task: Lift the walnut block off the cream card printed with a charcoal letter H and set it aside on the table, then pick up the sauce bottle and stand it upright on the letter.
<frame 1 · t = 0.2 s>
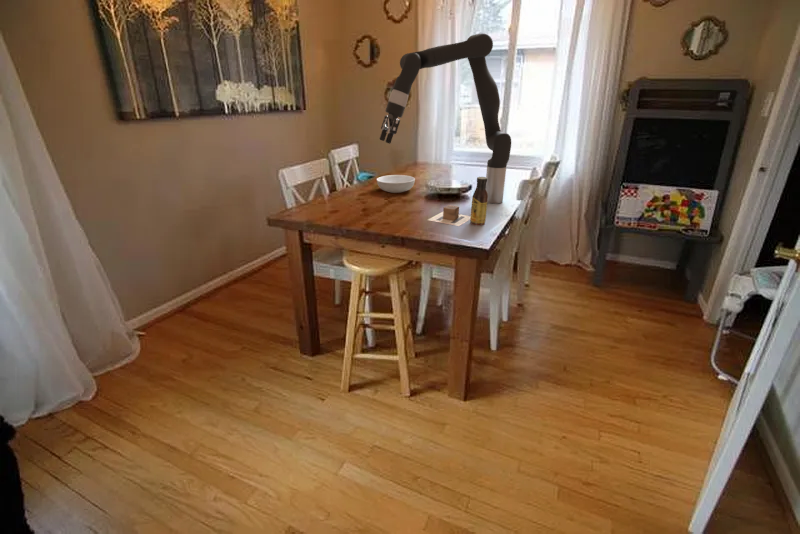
hand: (384, 141, 172), 31 cm above the table, tool tilted 20°, fingers open, 8 cm apart
serving bowl: (395, 191, 220), on the table
sauce bottle: (477, 225, 167), on the table
walnut block: (450, 218, 173), point 1 cm above the table, touching letter card
letter card: (450, 219, 173), on the table
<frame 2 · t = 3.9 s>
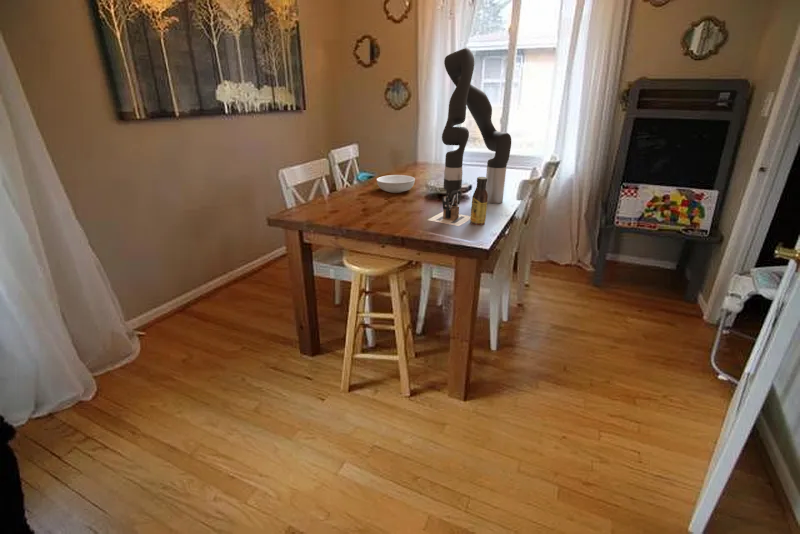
hand: (450, 216, 173), 1 cm above the table, tool pointing down, fingers closed on walnut block, 5 cm apart
walnut block: (450, 218, 173), point 1 cm above the table, touching gripper, letter card
everything else where it was.
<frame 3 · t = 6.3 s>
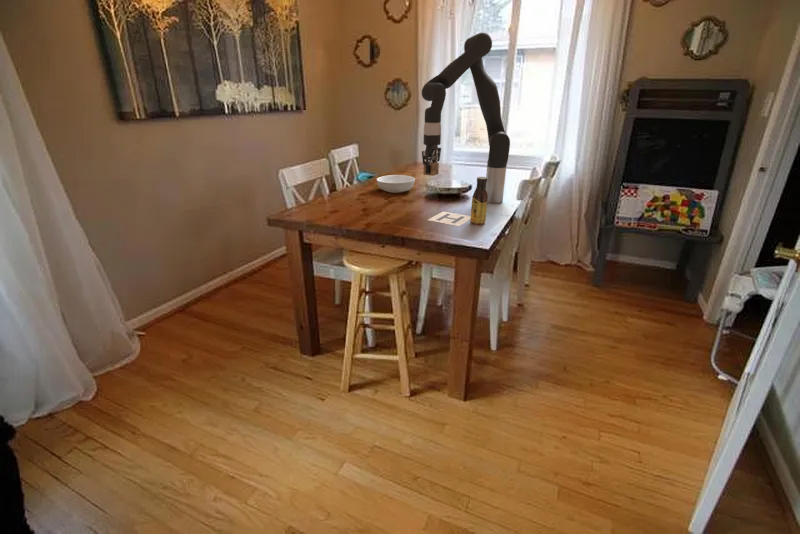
hand: (431, 172, 181), 17 cm above the table, tool pointing down, fingers closed on walnut block, 5 cm apart
walnut block: (430, 174, 181), point 16 cm above the table, touching gripper
everything else where it was.
when the fingers open (2 cm above the table, at t = 9.0 s): walnut block drops 2 cm, on the table.
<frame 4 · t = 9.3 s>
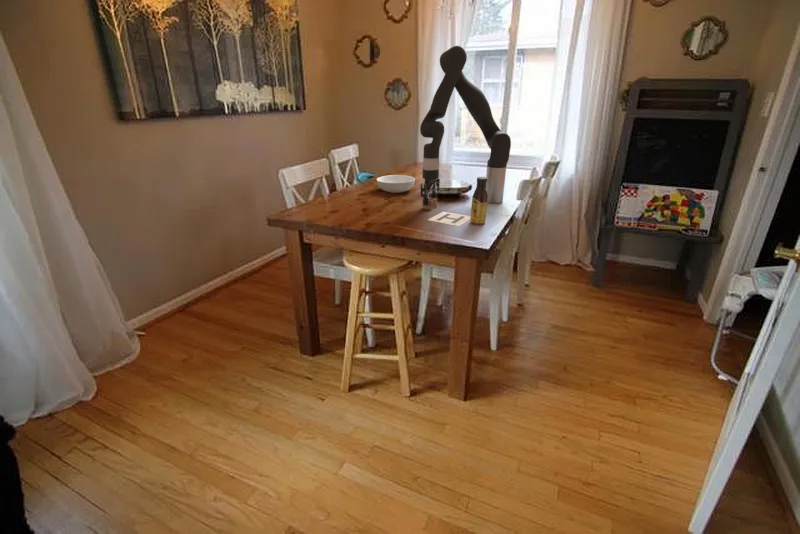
hand: (429, 203, 187), 3 cm above the table, tool pointing down, fingers open, 7 cm apart
walnut block: (429, 209, 188), on the table
everything else where it was.
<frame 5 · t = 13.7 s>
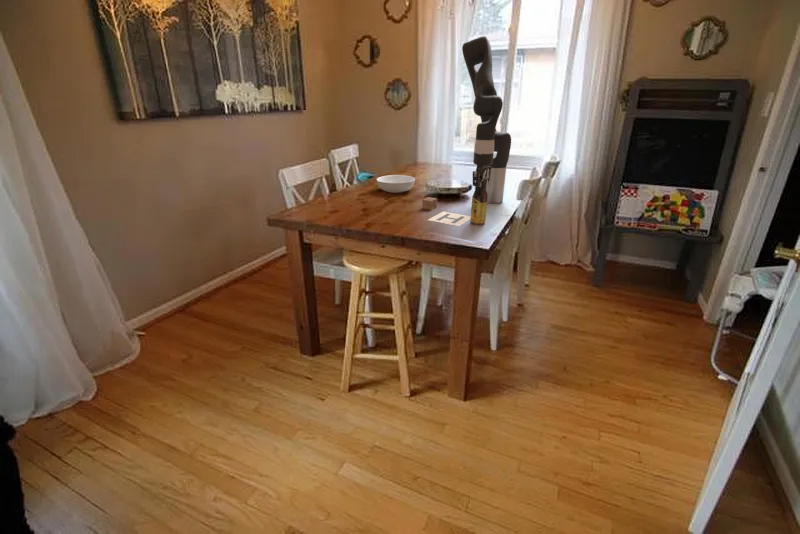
hand: (480, 194, 162), 13 cm above the table, tool pointing down, fingers closed on sauce bottle, 5 cm apart
sauce bottle: (477, 225, 167), on the table, touching gripper
everything else where it was.
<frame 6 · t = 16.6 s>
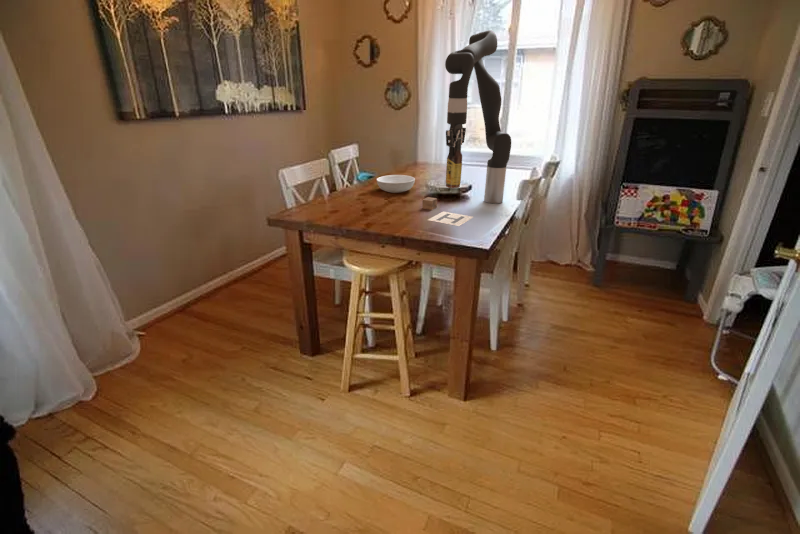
hand: (454, 155, 162), 27 cm above the table, tool pointing down, fingers closed on sauce bottle, 5 cm apart
sauce bottle: (452, 187, 168), point 14 cm above the table, touching gripper
everything else where it was.
when the fingers open (15 cm above the table, at t = 19.4 s): sauce bottle stays where it is, resting on letter card.
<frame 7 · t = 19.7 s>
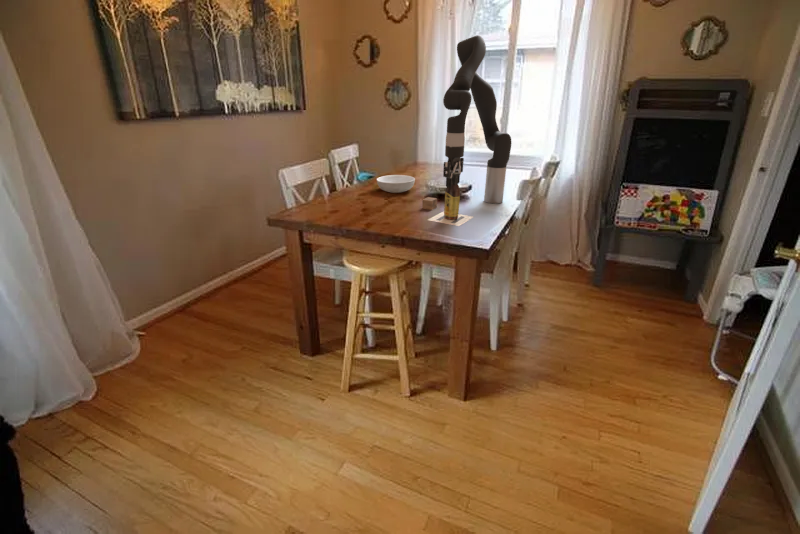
hand: (452, 185, 167), 15 cm above the table, tool pointing down, fingers open, 7 cm apart
sauce bottle: (451, 218, 173), resting on letter card
everything else where it was.
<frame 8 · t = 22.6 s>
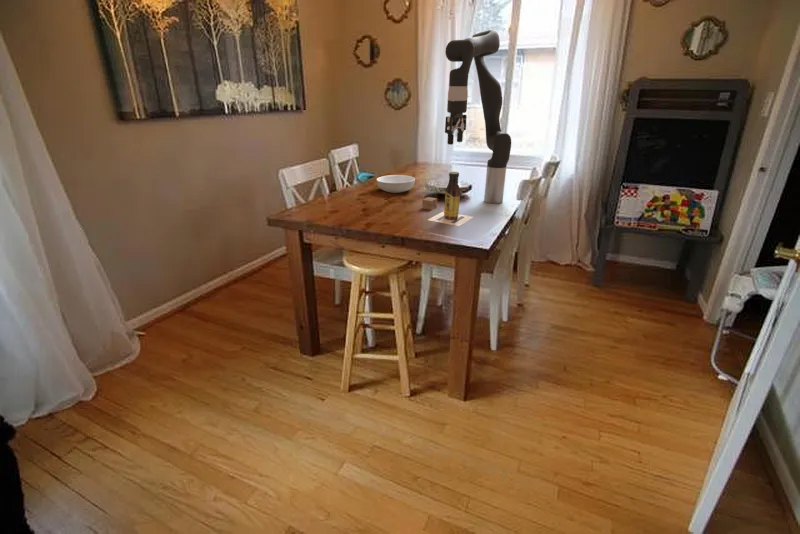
hand: (455, 143, 160), 32 cm above the table, tool pointing down, fingers open, 8 cm apart
nothing on the table moved.
at the end: sauce bottle inside the target area on the letter card (0.1 cm from its centre), point 0.4 cm above the letter card's base; sauce bottle tilted 0°; walnut block touching table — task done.
